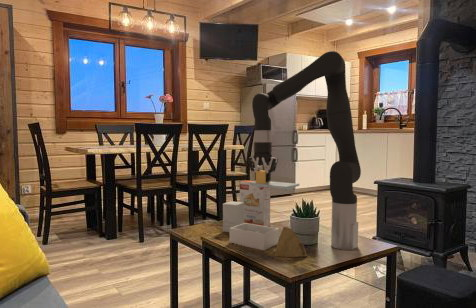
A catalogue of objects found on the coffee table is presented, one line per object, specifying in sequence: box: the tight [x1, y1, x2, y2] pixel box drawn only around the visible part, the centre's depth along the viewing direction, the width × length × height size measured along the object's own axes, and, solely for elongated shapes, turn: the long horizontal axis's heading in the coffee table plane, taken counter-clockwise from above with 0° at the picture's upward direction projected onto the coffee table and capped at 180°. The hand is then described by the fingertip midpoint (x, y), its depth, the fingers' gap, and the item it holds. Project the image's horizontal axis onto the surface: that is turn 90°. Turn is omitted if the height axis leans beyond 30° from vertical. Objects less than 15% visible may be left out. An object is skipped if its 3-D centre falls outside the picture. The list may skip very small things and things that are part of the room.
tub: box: [228, 223, 280, 251], centre depth 148 cm, size 16×11×6 cm
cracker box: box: [239, 179, 271, 227], centre depth 177 cm, size 14×6×21 cm, turn 53°
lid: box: [250, 169, 300, 192], centre depth 157 cm, size 20×12×7 cm, turn 55°
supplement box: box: [222, 200, 244, 233], centre depth 167 cm, size 7×7×13 cm
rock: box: [273, 226, 308, 258], centre depth 132 cm, size 11×9×10 cm
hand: (262, 181), depth 159 cm, fingers closed on lid, 4 cm apart
